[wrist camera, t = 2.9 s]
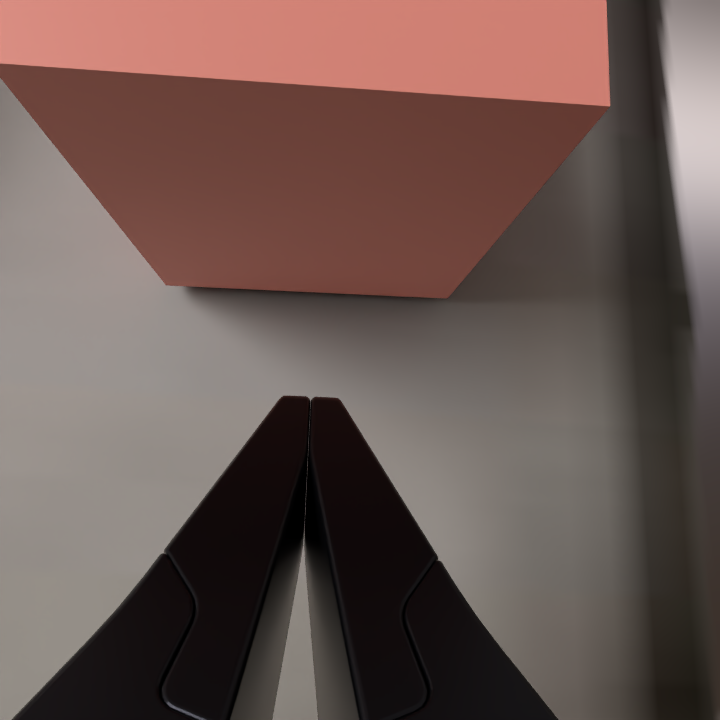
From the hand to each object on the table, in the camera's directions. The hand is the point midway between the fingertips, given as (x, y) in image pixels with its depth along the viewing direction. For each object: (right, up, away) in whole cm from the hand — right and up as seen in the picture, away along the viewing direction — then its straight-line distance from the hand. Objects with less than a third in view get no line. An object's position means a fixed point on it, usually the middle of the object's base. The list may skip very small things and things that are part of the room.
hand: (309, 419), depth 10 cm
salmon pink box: (0, +7, +7) cm, 10 cm away
